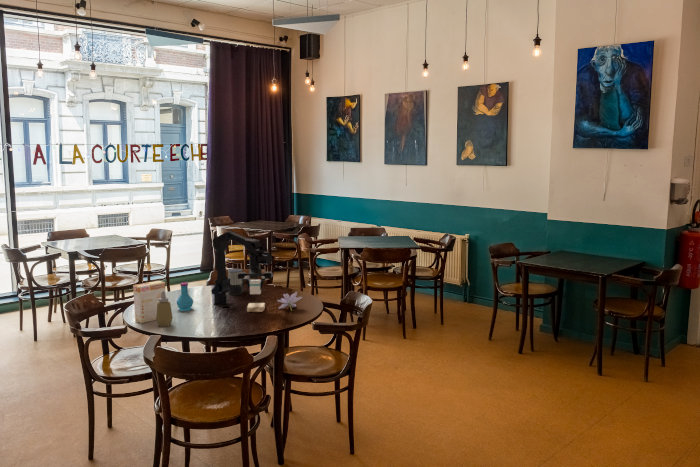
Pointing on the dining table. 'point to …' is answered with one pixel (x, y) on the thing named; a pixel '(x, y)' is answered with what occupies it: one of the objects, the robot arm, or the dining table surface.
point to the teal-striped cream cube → (255, 286)
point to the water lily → (289, 300)
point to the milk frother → (235, 282)
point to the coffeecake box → (147, 300)
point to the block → (255, 307)
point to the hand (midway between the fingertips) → (255, 290)
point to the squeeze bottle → (164, 311)
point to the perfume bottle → (184, 298)
